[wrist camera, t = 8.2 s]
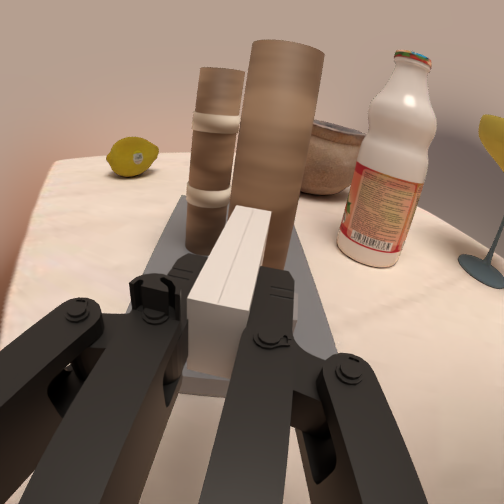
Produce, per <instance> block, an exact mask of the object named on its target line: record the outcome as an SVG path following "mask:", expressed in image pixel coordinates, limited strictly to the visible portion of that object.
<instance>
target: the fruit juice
mask: <svg viewBox="0 0 504 504" xmlns="http://www.w3.org/2000/svg"><path fill="white" fill-rule="evenodd" d="M394 62H395V64H396V66H395V69H394V71H393V73H392V75H391V77H390V79H389V81H388V82H387V84H386V85H385V87H384V88H383V90H382V91H381V92H380V93H379V94H378V95H377V96H376V97H375V98H374V99H373V100H372V102H371V104H370V107H369V111H368V123H369V129H368V133H367V135H366V136H365V138H364V139H363V141H362V143H361V146H360V149H359V153H358V157H357V162H356V166H355V171H354V175H353V179H352V183H351V187H350V191H349V195H348V199H347V203H346V207H345V211H344V214H343V218H342V222H341V226H340V229H339V233H338V238H337V243H338V246H339V248H340V249H341V251H342V252H343V253H345V254H346V255H347V256H349V257H350V258H352V259H354V260H356V261H358V262H360V263H363V264H366V265H369V266H374V267H390V266H392V265H394V264H395V263H396V261H397V260H398V258H399V256H400V253H401V251H402V248H403V245H404V243H405V240H406V237H407V234H408V231H409V229H410V226H411V223H412V220H413V217H414V214H415V211H416V207H417V204H418V201H419V198H420V194H421V191H422V188H423V185H424V181H425V178H426V174H427V168H428V154H427V153H428V148H429V145H430V144H431V142H432V140H433V138H434V136H435V133H436V127H437V121H436V116H435V114H434V111H433V109H432V106H431V103H430V99H429V93H428V82H427V76H428V73H430V70H431V60H430V59H428V58H427V57H425V56H423V55H421V54H418V53H415V52H411V51H407V50H397V51H396V53H395V56H394Z"/></svg>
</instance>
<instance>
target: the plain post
mask: <svg viewBox="0 0 504 504" xmlns="http://www.w3.org/2000/svg"><path fill="white" fill-rule="evenodd" d="M323 62H324V53H323V52H321V51H320V50H318V49H316V48H313V47H311V46H307V45H304V44H300V43H295V42H290V41H283V40H258V41H254V42H253V44H252V50H251V56H250V62H249V68H248V75H247V81H246V88H245V94H244V102H243V108H242V115H241V122H240V129H239V135H238V143H237V150H236V157H235V165H234V172H233V180H232V188H231V195H230V203H229V211H228V220H229V218H230V216H231V214H232V212H233V211H234V209H235V207H236V205H238V206H243V207H249V208H255V209H260V210H266V211H271V218H270V223H269V229H268V235H267V240H266V246H265V251H264V257H263V263H262V266H264V267H269V268H274V269H280V270H284V267H285V262H286V258H287V253H288V248H289V244H290V239H291V234H292V230H293V225H294V220H295V215H296V210H297V205H298V200H299V195H300V190H301V185H302V180H303V175H304V170H305V165H306V159H307V154H308V149H309V143H310V138H311V133H312V127H313V121H314V116H315V110H316V104H317V98H318V92H319V86H320V80H321V74H322V68H323ZM228 220H227V222H228Z"/></svg>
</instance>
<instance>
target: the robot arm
mask: <svg viewBox="0 0 504 504" xmlns="http://www.w3.org/2000/svg"><path fill="white" fill-rule="evenodd" d="M270 218H271V211H266V210H260V209H255V208H249V207H243V206H238V205H236V207H235V209H234V211H233V212H232V214H231V216H230V218H229V220H228V222H227V223H226V225H225V227H224V229H223V231H222V233H221V235H220V236H219V238H218V240H217V242H216V244H215V246H214V248H213V249H212V251H211V253H210V255H209V257H206V256H201V255H196V254H191V253H187V254H186V255H184V256H182V257H180V258H179V259H177V261H176V262H175V264H174V265H173V267H172V269H171V270H170V271H169V273H168V274H167V275H165V274H158V273H150V274H143V275H141V276H138V277H136V278H134V279H133V280H132V281H131V282H129V287H130V296H131V305H132V310H131V311H130V313H127V314H106V313H102V312H101V309H100V306H99V304H98V303H96V302H95V301H94V300H92V299H89V298H79V297H78V298H74V299H70V300H68V301H66V302H64V303H62V304H61V305H59V306H58V307H57V308H55V309H54V310H53V311H51V312H50V313H49V314H47V315H46V316H45V317H43V318H42V319H41V320H39V321H38V322H37V323H35V324H34V325H33V326H31V327H30V328H29V329H28V330H26V331H25V332H24V333H22V334H21V335H20V336H19V337H17V338H16V339H15V340H14V341H12V342H11V343H10V344H9V345H7V346H6V347H5V348H4V349H2V350H1V351H0V504H4V503H5V502H6V501H7V500H8V499H9V498H10V497H11V496H12V494H13V493H14V492H15V491H16V490H17V489H18V488H19V487H20V486H21V485H22V483H23V482H24V481H25V480H26V479H27V478H28V477H29V476H30V475H31V474H32V472H33V471H34V470H35V471H34V473H33V475H32V477H31V479H30V481H29V483H28V485H27V487H26V489H25V491H24V493H23V495H22V497H21V499H20V501H19V504H138V503H139V500H140V497H141V494H142V492H143V489H144V486H145V483H146V480H147V477H148V475H149V472H150V469H151V466H152V463H153V461H154V458H155V455H156V452H157V450H158V447H159V444H160V441H161V439H162V436H163V433H164V430H165V428H166V425H167V422H168V419H169V417H170V414H171V411H172V409H173V406H174V403H175V401H176V398H177V395H178V393H179V390H180V387H181V385H182V378H183V376H182V370H183V368H184V365H185V363H186V360H187V369H189V370H193V371H197V372H201V373H205V374H209V375H214V376H218V377H223V378H228V379H230V382H229V386H228V390H227V394H226V398H225V402H224V406H223V410H222V414H221V418H220V422H219V426H218V430H217V434H216V438H215V442H214V445H213V449H212V453H211V457H210V461H209V465H208V469H207V473H206V476H205V480H204V484H203V488H202V492H201V496H200V499H199V503H198V504H282V503H283V494H284V486H285V476H286V467H287V456H288V446H289V434H290V426H292V427H294V428H295V431H296V435H297V440H298V444H299V449H300V454H301V458H302V463H303V468H304V472H305V477H306V482H307V486H308V491H309V496H310V501H311V504H428V502H427V499H426V497H425V494H424V491H423V488H422V486H421V483H420V480H419V478H418V475H417V473H416V470H415V467H414V465H413V462H412V460H411V457H410V455H409V452H408V450H407V447H406V445H405V442H404V440H403V437H402V435H401V433H400V430H399V428H398V425H397V423H396V421H395V418H394V416H393V414H392V411H391V409H390V407H389V405H388V402H387V400H386V398H385V395H384V393H383V391H382V389H381V386H380V384H379V382H378V380H377V378H376V375H375V373H374V371H373V370H372V368H371V367H370V365H369V364H368V363H367V362H366V361H364V360H363V359H362V358H360V357H358V356H355V355H353V354H349V353H338V354H334V355H332V356H330V357H329V358H327V359H326V360H324V359H321V358H319V357H316V356H314V355H312V354H310V353H308V352H306V351H305V350H303V349H302V348H301V347H300V346H299V345H298V344H297V343H296V341H295V339H294V337H293V332H292V328H293V308H294V285H295V280H294V279H293V277H292V275H291V274H290V272H289V271H285V270H280V269H274V268H269V267H264V266H262V263H263V257H264V251H265V246H266V240H267V235H268V229H269V223H270ZM70 363H71V364H70ZM69 364H70V365H69ZM67 365H69V366H67ZM66 366H67V367H66Z"/></svg>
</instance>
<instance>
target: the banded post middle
mask: <svg viewBox="0 0 504 504" xmlns="http://www.w3.org/2000/svg"><path fill="white" fill-rule="evenodd" d="M244 75H245V72H244V71H240V70H234V69H226V68H211V67H202V68H200V76H199V83H198V91H197V100H196V109H195V111H194V112H193V121H192V129H193V137H192V148H191V160H190V172H189V181H188V182H187V193H186V200H187V219H186V240H185V247H186V249H187V250H188V251H190V252H191V253H194V254H197V255H202V256H209V255H210V253H211V251H212V249H213V248H214V246H215V244H216V242H217V240H218V238H219V236H220V235H221V233H222V231H223V229H224V227H225V224H226V215H227V206H228V204H229V202H230V193H231V185H230V180H231V172H232V164H233V156H234V148H235V140H236V133H238V130H239V123H240V115H239V110H240V103H241V96H242V89H243V82H244Z"/></svg>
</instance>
